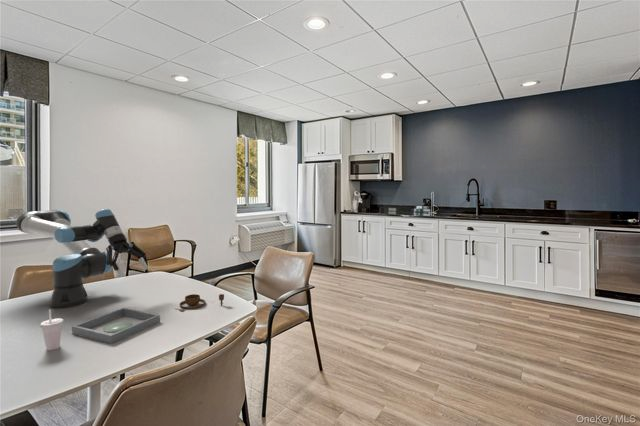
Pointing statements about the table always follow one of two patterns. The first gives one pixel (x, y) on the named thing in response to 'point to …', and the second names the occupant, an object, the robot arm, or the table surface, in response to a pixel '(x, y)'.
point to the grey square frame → (115, 325)
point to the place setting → (195, 301)
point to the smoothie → (52, 332)
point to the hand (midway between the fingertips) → (134, 272)
